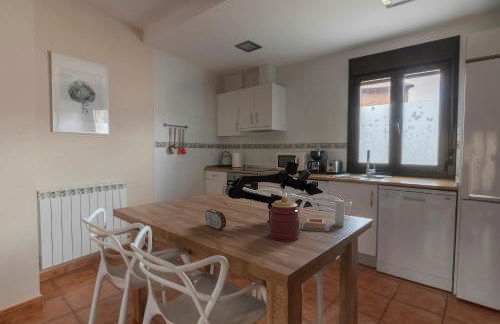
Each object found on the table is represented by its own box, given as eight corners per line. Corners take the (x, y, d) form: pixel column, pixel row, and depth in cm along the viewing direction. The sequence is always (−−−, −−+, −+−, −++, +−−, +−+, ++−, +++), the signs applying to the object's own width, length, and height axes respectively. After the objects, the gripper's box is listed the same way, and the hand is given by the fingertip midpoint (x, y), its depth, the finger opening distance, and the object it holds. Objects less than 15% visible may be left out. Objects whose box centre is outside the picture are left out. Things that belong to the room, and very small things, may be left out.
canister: (283, 244, 105) (284, 200, 105) (263, 235, 116) (263, 195, 115) (305, 237, 113) (306, 197, 112) (284, 230, 123) (285, 193, 123)
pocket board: (301, 230, 124) (301, 223, 124) (303, 222, 137) (303, 216, 137) (329, 232, 121) (329, 225, 121) (329, 224, 133) (329, 218, 133)
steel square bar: (335, 225, 131) (335, 201, 131) (334, 223, 135) (335, 199, 134) (343, 226, 130) (344, 201, 130) (343, 224, 134) (343, 200, 133)
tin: (226, 230, 124) (226, 212, 123) (221, 231, 122) (221, 213, 121) (209, 223, 135) (209, 207, 135) (204, 225, 133) (204, 208, 133)
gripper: (305, 170, 131) (332, 179, 134) (291, 166, 149) (315, 173, 153) (298, 191, 131) (325, 199, 135) (285, 184, 149) (309, 191, 153)
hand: (318, 190), depth 144 cm, fingers open, 9 cm apart
